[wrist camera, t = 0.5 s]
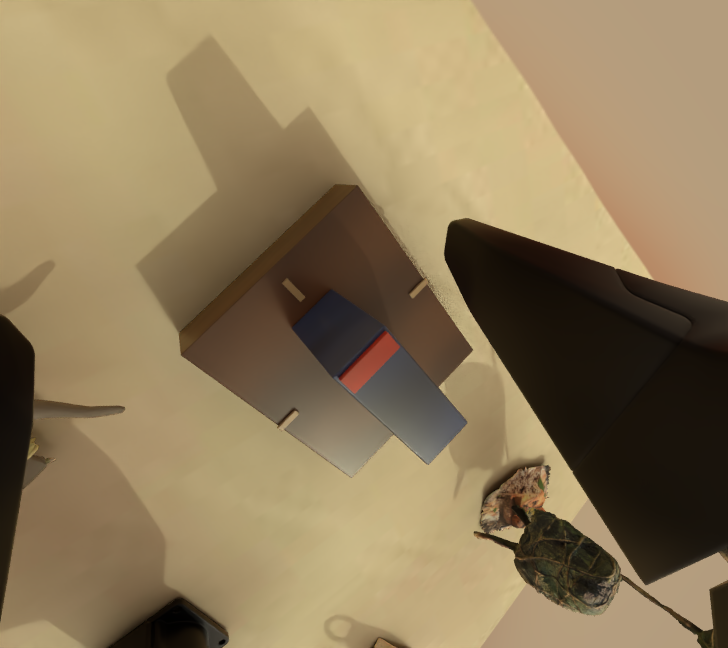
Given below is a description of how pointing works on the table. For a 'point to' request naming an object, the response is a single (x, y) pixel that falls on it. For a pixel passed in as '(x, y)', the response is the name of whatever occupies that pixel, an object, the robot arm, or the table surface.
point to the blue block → (380, 374)
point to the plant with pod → (559, 551)
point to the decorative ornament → (383, 644)
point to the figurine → (59, 411)
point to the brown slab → (295, 298)
